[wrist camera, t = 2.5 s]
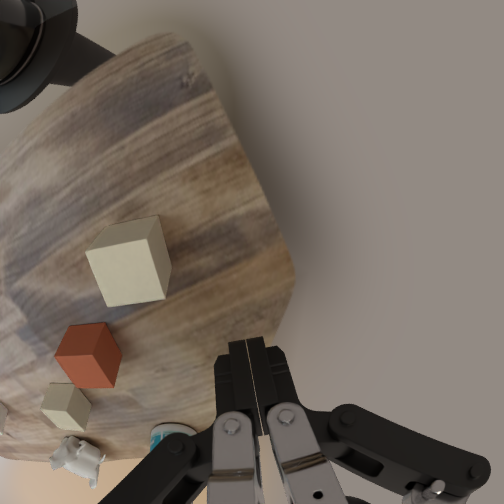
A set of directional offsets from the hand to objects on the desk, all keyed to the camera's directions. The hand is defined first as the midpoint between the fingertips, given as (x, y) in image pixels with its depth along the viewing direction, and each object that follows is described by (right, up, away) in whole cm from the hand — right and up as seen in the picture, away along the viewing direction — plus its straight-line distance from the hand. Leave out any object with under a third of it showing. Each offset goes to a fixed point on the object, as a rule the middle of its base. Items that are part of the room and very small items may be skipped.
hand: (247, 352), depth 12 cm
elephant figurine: (-32, -31, +27) cm, 52 cm away
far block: (-26, -16, +20) cm, 36 cm away
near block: (-10, +5, +12) cm, 16 cm away
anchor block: (-17, -5, +16) cm, 24 cm away
